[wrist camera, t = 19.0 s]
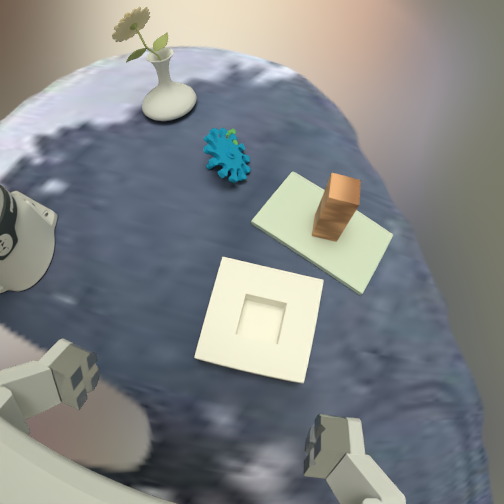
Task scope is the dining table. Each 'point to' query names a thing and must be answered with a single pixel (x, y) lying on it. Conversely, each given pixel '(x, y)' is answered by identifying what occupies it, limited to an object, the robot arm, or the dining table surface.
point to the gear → (227, 154)
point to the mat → (317, 249)
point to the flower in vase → (167, 92)
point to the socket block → (260, 320)
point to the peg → (336, 207)
